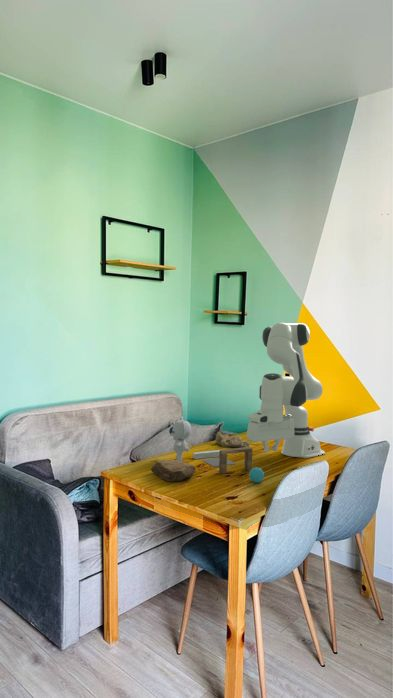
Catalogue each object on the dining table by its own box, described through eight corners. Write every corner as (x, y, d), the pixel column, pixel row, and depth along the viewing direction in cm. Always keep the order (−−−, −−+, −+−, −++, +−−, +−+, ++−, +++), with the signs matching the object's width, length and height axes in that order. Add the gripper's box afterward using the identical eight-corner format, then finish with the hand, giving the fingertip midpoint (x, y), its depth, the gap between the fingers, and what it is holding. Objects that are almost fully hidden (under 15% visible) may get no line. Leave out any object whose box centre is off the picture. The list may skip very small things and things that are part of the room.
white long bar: (221, 454, 235) (222, 449, 235) (224, 455, 232) (224, 450, 232) (193, 457, 228) (193, 452, 228) (195, 459, 225) (195, 453, 225)
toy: (168, 456, 230) (169, 415, 229) (189, 456, 231) (190, 415, 230) (169, 465, 213) (170, 422, 212) (192, 465, 214) (193, 422, 213)
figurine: (224, 431, 264) (255, 435, 252) (222, 444, 264) (254, 449, 252) (212, 431, 255) (244, 436, 243) (210, 445, 254) (242, 451, 242)
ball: (258, 479, 196) (258, 465, 196) (266, 483, 191) (267, 468, 191) (246, 480, 194) (246, 466, 193) (254, 485, 188) (254, 470, 188)
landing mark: (223, 457, 229) (223, 457, 229) (236, 464, 218) (236, 463, 218) (201, 460, 224) (201, 459, 224) (213, 466, 213) (213, 466, 213)
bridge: (219, 472, 205) (219, 450, 205) (248, 468, 212) (248, 447, 211) (222, 474, 202) (222, 451, 202) (251, 470, 209) (252, 448, 209)
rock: (203, 467, 198) (183, 469, 186) (200, 483, 198) (180, 486, 186) (167, 455, 210) (146, 456, 197) (164, 471, 209) (142, 473, 197)
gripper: (288, 412, 190) (287, 446, 191) (245, 415, 181) (244, 451, 182) (298, 415, 184) (297, 450, 185) (254, 418, 176) (253, 455, 176)
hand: (270, 451), depth 183 cm, fingers open, 2 cm apart
